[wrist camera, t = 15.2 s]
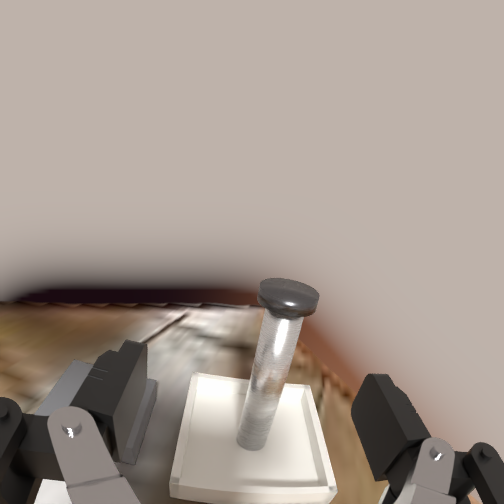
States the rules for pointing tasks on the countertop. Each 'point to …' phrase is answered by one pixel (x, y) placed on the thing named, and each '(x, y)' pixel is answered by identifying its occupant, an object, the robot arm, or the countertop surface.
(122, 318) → the countertop surface
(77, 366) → the block
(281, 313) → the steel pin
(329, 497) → the tray
